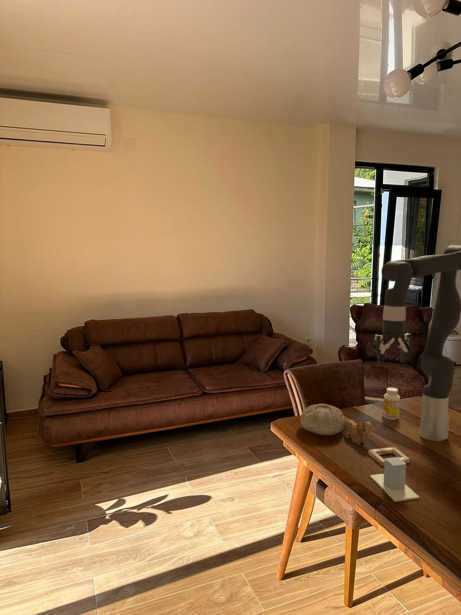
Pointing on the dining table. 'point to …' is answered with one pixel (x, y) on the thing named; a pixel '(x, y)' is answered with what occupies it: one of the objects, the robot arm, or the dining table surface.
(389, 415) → the supplement bottle
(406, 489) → the tile
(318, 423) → the decorative shell
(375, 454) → the pocket frame
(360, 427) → the lion figurine
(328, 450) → the dining table surface
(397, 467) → the block
